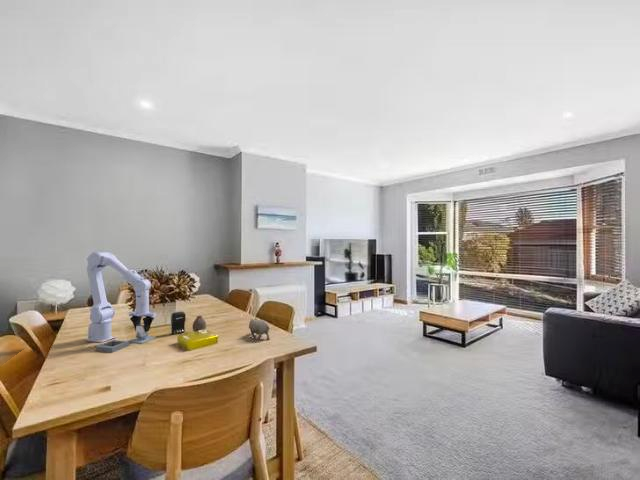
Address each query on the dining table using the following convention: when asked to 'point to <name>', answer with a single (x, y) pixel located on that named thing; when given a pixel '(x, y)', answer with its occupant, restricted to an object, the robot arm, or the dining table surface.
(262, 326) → the rhinoceros figurine
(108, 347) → the frame
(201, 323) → the vase
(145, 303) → the robot arm
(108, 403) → the dining table surface
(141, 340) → the mat
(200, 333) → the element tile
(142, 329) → the shiny metal cylinder
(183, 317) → the battery charger
